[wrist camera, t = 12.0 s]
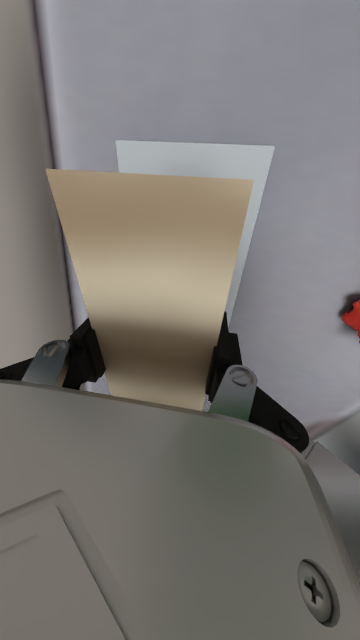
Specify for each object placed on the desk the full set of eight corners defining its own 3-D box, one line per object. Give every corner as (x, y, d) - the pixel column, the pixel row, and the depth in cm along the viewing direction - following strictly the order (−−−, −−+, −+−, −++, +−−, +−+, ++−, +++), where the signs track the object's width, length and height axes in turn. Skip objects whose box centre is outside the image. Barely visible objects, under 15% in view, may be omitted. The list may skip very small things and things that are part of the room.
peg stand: (223, 341, 26) (227, 401, 18) (140, 330, 27) (113, 382, 20) (270, 149, 14) (332, 104, 7) (121, 143, 15) (38, 99, 8)
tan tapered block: (108, 177, 9) (45, 168, 5) (238, 184, 8) (253, 179, 5) (136, 377, 17) (118, 420, 14) (200, 388, 17) (196, 435, 14)
